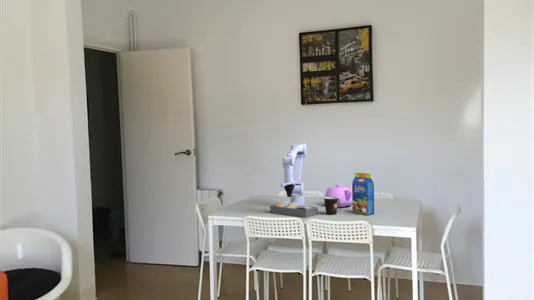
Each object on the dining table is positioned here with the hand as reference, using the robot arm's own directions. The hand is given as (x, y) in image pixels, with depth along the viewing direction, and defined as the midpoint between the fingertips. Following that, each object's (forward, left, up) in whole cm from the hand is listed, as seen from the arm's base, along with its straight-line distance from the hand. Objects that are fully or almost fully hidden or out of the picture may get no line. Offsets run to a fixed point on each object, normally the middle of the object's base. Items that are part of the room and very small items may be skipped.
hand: (289, 196), depth 299 cm
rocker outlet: (+1, +13, -6) cm, 14 cm away
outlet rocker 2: (+1, +4, -6) cm, 7 cm away
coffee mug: (-12, +25, -10) cm, 29 cm away
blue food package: (-22, +40, -10) cm, 47 cm away
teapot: (-37, +14, -11) cm, 41 cm away
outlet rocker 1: (+1, -5, -6) cm, 8 cm away
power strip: (+1, +4, -10) cm, 11 cm away
